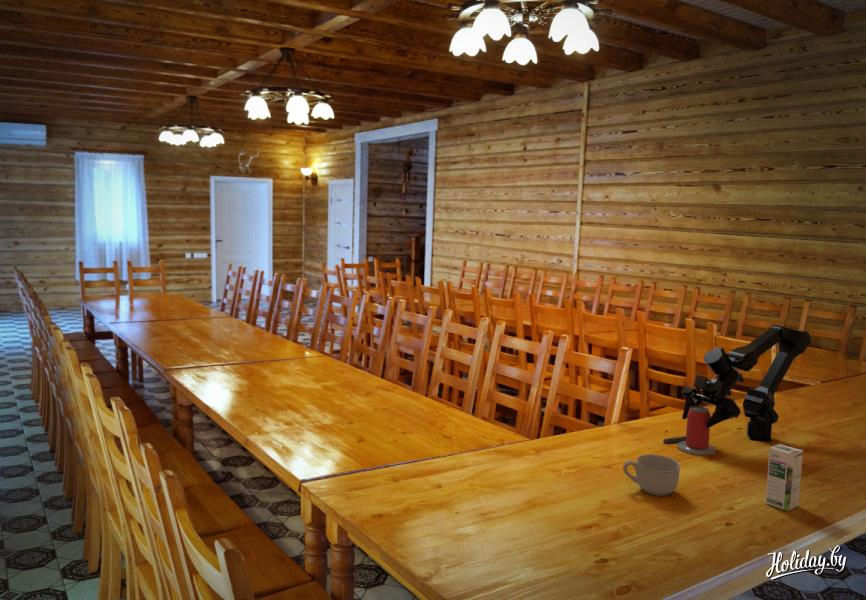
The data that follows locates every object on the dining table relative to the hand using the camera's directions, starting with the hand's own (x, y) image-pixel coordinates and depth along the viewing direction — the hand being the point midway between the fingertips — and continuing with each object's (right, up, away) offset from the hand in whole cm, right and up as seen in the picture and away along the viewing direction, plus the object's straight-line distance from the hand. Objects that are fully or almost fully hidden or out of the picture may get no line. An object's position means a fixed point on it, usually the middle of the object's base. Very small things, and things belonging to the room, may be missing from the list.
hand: (694, 422), depth 202 cm
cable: (-2, -8, +9) cm, 12 cm away
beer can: (+1, -8, +2) cm, 8 cm away
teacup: (-23, -12, -30) cm, 40 cm away
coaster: (+1, -8, +2) cm, 9 cm away
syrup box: (+7, -14, -38) cm, 41 cm away
